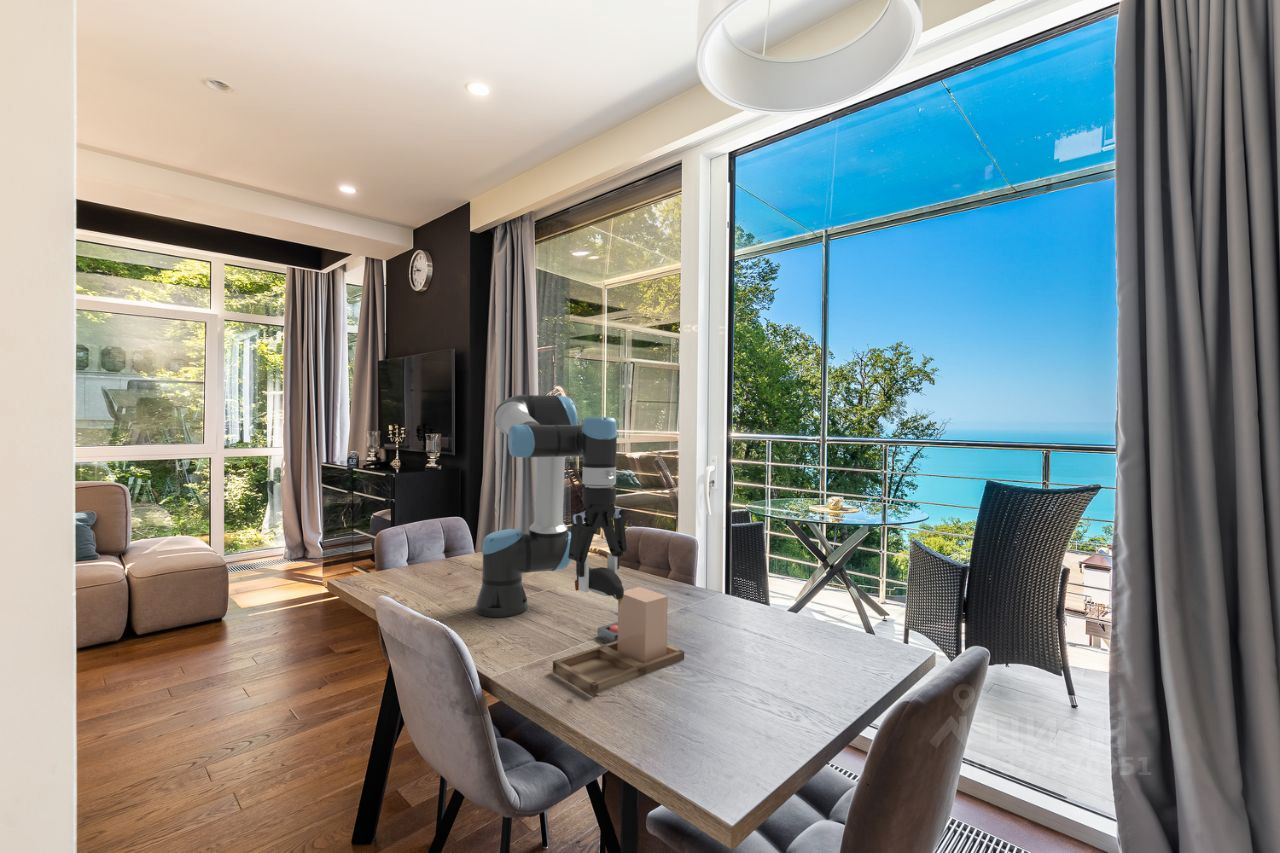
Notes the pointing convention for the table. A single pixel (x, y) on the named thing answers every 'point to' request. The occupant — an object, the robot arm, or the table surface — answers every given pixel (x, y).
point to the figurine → (604, 583)
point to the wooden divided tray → (608, 667)
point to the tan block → (642, 625)
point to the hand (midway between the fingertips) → (598, 587)
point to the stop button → (614, 628)
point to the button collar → (607, 633)
